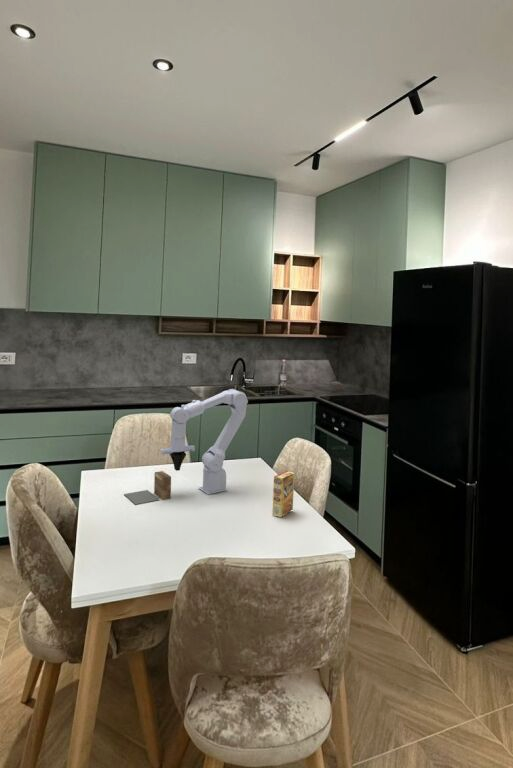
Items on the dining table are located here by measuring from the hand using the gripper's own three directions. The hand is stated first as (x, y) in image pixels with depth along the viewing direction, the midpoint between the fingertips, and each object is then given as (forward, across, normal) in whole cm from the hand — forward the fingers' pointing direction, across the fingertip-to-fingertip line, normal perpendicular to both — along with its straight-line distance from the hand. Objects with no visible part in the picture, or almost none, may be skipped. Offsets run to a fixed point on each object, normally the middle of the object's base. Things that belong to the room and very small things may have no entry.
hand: (177, 469), depth 194 cm
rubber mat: (+10, +14, -4) cm, 17 cm away
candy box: (+10, -26, +37) cm, 46 cm away
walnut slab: (+10, +6, -2) cm, 12 cm away
